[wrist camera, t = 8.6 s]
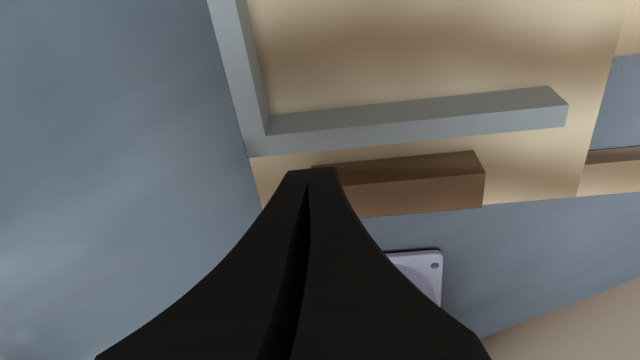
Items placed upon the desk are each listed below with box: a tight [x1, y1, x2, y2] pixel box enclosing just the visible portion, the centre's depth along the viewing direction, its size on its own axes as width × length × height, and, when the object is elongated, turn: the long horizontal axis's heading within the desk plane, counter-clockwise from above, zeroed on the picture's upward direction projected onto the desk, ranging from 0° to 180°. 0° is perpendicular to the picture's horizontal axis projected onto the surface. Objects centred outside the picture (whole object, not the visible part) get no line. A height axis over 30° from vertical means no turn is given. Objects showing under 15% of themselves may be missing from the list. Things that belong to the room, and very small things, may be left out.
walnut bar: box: [311, 150, 486, 218], centre depth 22 cm, size 4×8×2 cm, turn 97°
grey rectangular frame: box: [207, 0, 569, 158], centre depth 16 cm, size 11×14×2 cm
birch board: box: [246, 0, 640, 210], centre depth 18 cm, size 17×26×1 cm, turn 97°
